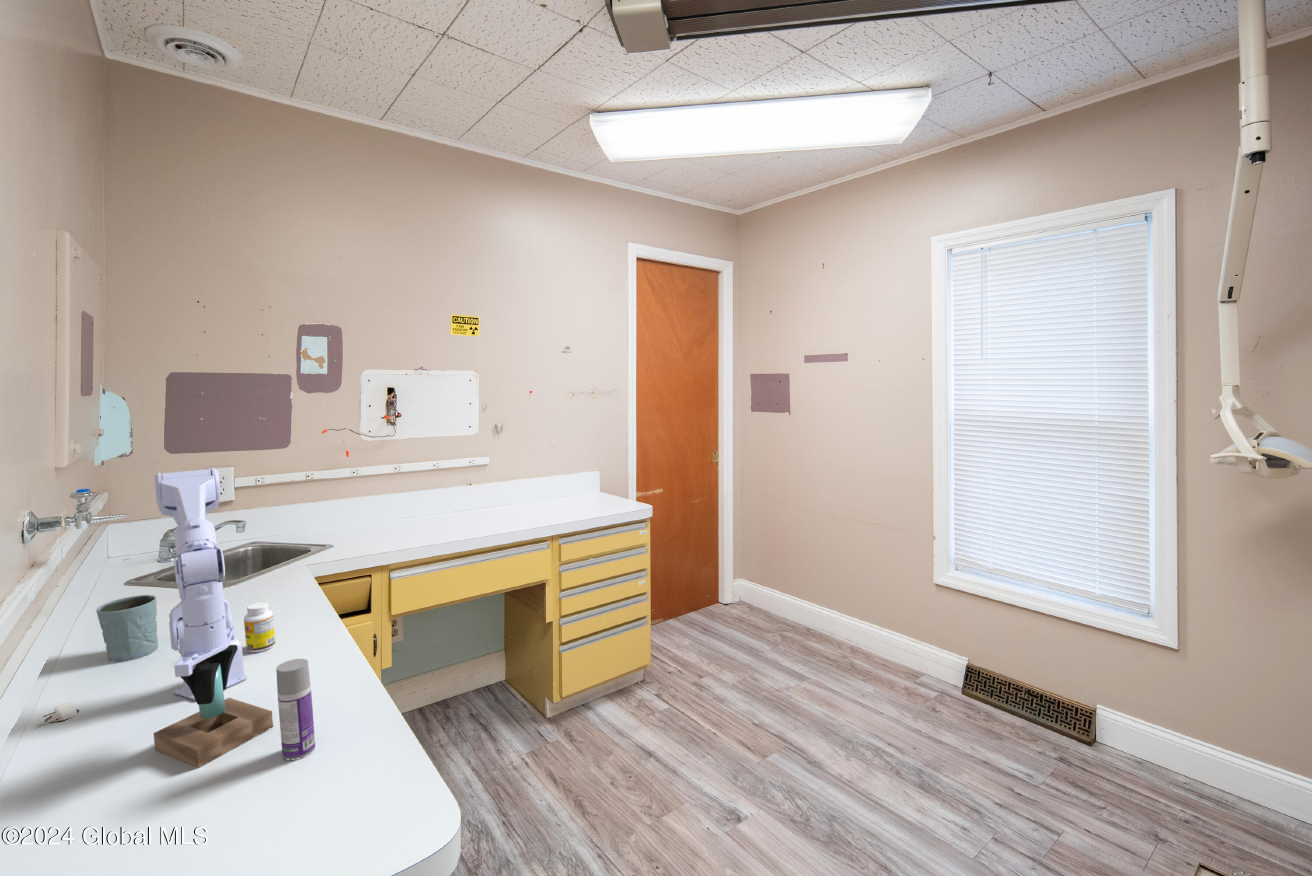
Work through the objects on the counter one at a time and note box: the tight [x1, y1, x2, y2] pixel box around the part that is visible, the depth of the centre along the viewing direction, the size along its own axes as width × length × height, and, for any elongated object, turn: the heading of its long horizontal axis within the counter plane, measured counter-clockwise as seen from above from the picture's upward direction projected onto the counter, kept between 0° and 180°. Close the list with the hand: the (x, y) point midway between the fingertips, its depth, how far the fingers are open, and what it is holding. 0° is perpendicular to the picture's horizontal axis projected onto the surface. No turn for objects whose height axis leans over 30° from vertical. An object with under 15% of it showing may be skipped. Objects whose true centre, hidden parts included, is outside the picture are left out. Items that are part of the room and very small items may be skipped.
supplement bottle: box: [243, 602, 276, 654], centre depth 137 cm, size 6×6×10 cm
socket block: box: [153, 697, 274, 768], centre depth 103 cm, size 12×12×3 cm
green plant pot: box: [96, 594, 159, 663], centre depth 136 cm, size 10×10×12 cm
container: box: [275, 658, 316, 761], centre depth 98 cm, size 5×5×15 cm
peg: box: [198, 665, 225, 719], centre depth 102 cm, size 4×4×8 cm
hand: (212, 696), depth 102 cm, fingers closed on peg, 3 cm apart
